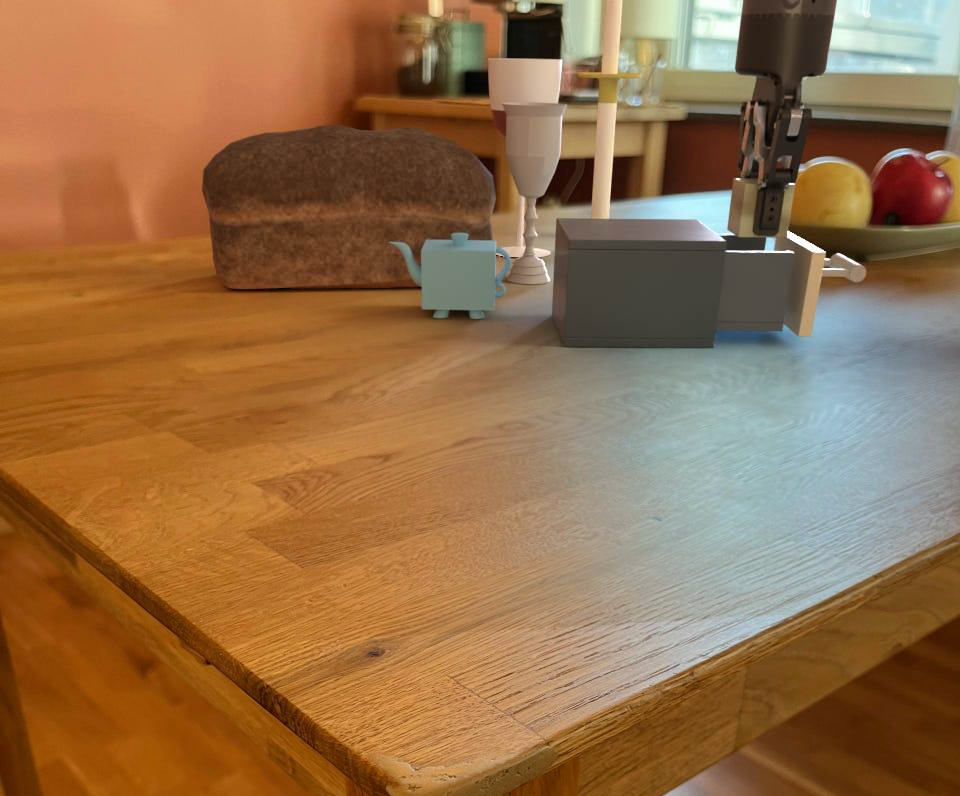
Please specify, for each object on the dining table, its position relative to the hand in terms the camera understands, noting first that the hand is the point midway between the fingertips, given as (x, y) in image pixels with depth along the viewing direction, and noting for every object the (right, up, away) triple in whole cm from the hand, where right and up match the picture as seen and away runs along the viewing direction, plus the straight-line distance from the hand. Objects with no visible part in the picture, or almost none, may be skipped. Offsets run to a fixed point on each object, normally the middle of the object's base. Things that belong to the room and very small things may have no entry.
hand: (757, 229), depth 93 cm
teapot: (-28, -5, +10) cm, 30 cm away
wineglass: (-20, +13, +40) cm, 47 cm away
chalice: (-20, +4, +25) cm, 32 cm away
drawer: (+1, -7, +4) cm, 8 cm away
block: (0, 0, 0) cm, 0 cm away
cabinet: (-11, -8, +4) cm, 14 cm away
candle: (-8, +20, +52) cm, 56 cm away
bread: (-40, +4, +24) cm, 47 cm away
